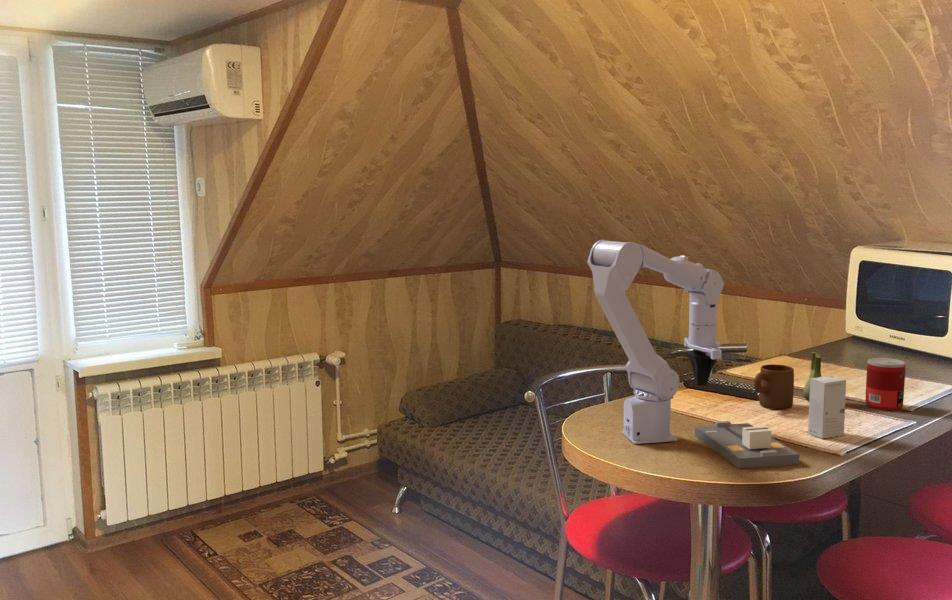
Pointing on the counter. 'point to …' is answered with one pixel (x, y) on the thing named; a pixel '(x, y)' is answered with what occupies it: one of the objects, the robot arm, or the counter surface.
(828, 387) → the skincare box
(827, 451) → the counter surface
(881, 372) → the canned food
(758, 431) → the fader knob
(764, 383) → the mug
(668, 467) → the counter surface
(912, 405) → the counter surface
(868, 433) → the counter surface
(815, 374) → the fennel bulb
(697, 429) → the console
